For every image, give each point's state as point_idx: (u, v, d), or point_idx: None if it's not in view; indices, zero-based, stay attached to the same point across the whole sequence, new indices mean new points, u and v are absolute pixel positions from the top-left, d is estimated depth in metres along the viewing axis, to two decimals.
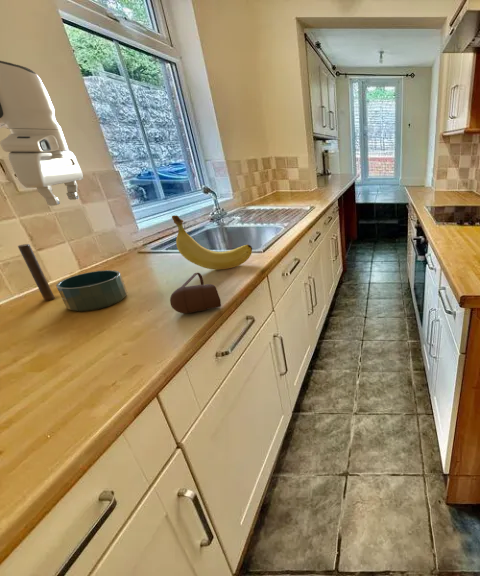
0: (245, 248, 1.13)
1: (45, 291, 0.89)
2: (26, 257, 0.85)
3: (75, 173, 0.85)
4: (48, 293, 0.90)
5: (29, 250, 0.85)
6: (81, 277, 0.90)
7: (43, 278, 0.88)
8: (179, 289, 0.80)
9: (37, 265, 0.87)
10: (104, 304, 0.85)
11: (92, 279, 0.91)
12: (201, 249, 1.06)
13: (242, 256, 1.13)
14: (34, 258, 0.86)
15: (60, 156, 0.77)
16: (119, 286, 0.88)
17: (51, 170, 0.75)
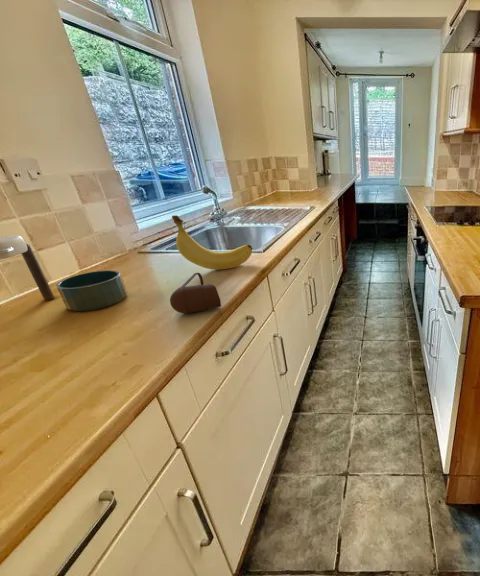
0: (245, 248, 1.13)
1: (45, 291, 0.89)
2: (26, 257, 0.85)
3: None
4: (48, 293, 0.90)
5: (29, 250, 0.85)
6: (81, 277, 0.90)
7: (43, 278, 0.88)
8: (179, 289, 0.80)
9: (37, 265, 0.87)
10: (104, 304, 0.85)
11: (92, 279, 0.91)
12: (201, 249, 1.06)
13: (242, 256, 1.13)
14: (34, 258, 0.86)
15: None
16: (119, 286, 0.88)
17: None
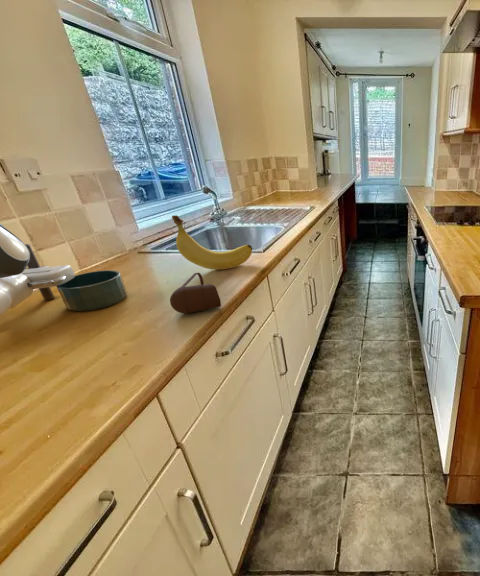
0: (245, 248, 1.13)
1: (45, 291, 0.89)
2: None
3: None
4: (48, 293, 0.90)
5: (29, 250, 0.85)
6: (81, 277, 0.90)
7: None
8: (179, 289, 0.80)
9: (37, 265, 0.87)
10: (104, 304, 0.85)
11: (92, 279, 0.91)
12: (201, 249, 1.06)
13: (242, 256, 1.13)
14: (34, 258, 0.86)
15: None
16: (119, 286, 0.88)
17: None
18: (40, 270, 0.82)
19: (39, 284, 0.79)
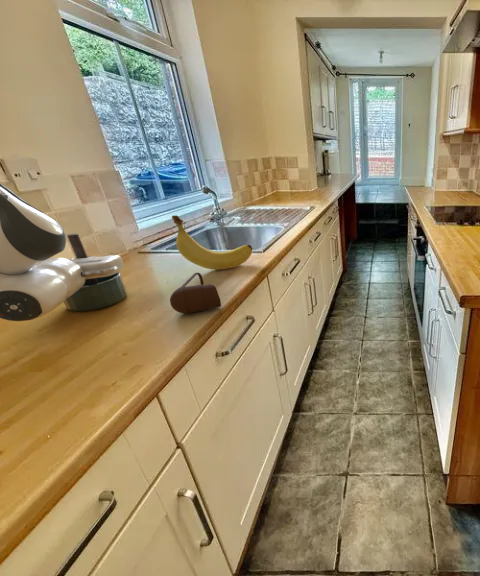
0: (245, 248, 1.13)
1: (92, 282, 0.86)
2: (75, 247, 0.82)
3: None
4: None
5: (78, 239, 0.82)
6: None
7: None
8: (179, 289, 0.80)
9: (85, 255, 0.84)
10: (104, 304, 0.85)
11: None
12: (201, 249, 1.06)
13: (242, 256, 1.13)
14: (82, 248, 0.83)
15: None
16: (119, 286, 0.88)
17: None
18: (91, 260, 0.79)
19: (92, 274, 0.75)
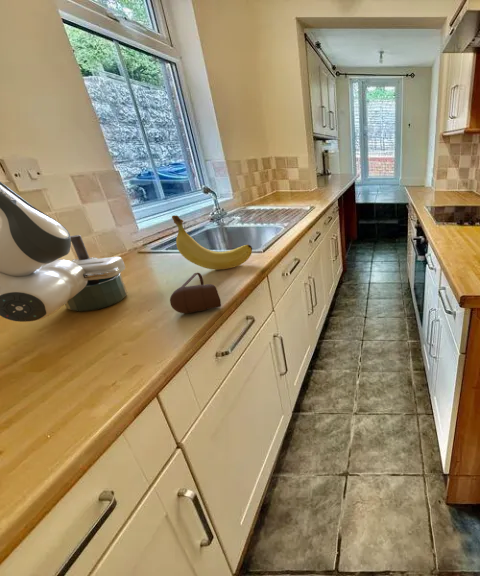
0: (245, 248, 1.13)
1: (94, 283, 0.88)
2: (77, 248, 0.84)
3: None
4: None
5: (80, 241, 0.84)
6: None
7: None
8: (179, 289, 0.80)
9: (87, 256, 0.86)
10: (104, 304, 0.85)
11: None
12: (201, 249, 1.06)
13: (242, 256, 1.13)
14: (84, 249, 0.85)
15: None
16: (119, 286, 0.88)
17: None
18: (93, 261, 0.81)
19: (94, 275, 0.77)
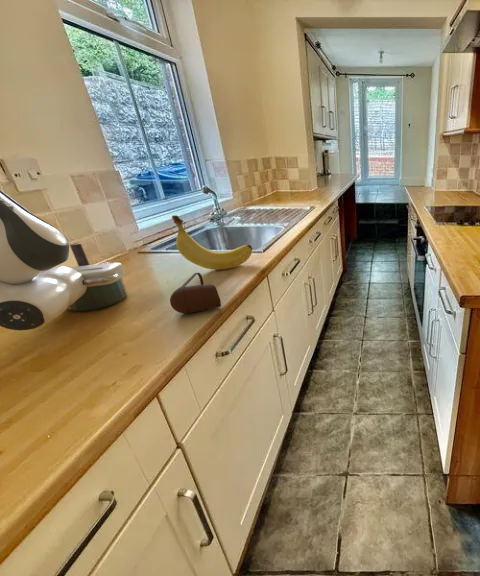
0: (245, 248, 1.13)
1: None
2: (77, 256, 0.83)
3: None
4: None
5: (81, 249, 0.83)
6: None
7: None
8: (179, 289, 0.80)
9: (88, 264, 0.85)
10: (104, 304, 0.85)
11: None
12: (201, 249, 1.06)
13: (242, 256, 1.13)
14: (85, 257, 0.84)
15: None
16: (119, 286, 0.88)
17: None
18: (92, 267, 0.80)
19: (94, 282, 0.76)
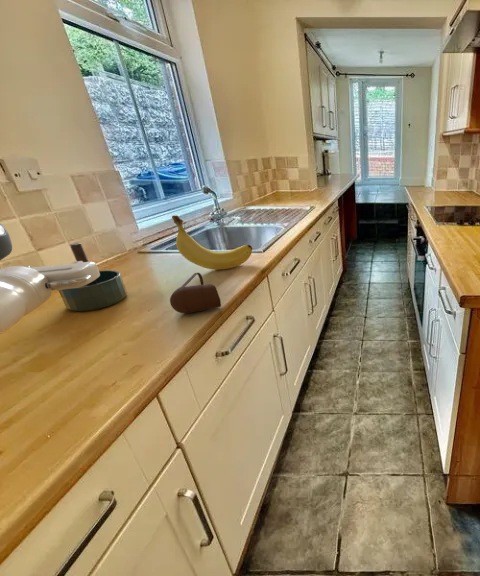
0: (245, 248, 1.13)
1: None
2: (77, 256, 0.83)
3: None
4: None
5: (81, 249, 0.83)
6: None
7: None
8: (179, 289, 0.80)
9: None
10: (104, 304, 0.85)
11: None
12: (201, 249, 1.06)
13: (242, 256, 1.13)
14: (85, 257, 0.84)
15: None
16: (119, 286, 0.88)
17: None
18: (59, 267, 0.68)
19: (59, 285, 0.64)
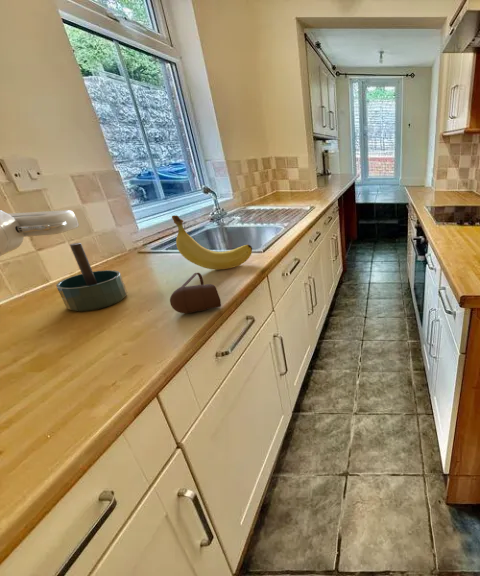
0: (245, 248, 1.13)
1: None
2: (77, 256, 0.83)
3: None
4: None
5: (81, 249, 0.83)
6: (81, 277, 0.90)
7: (93, 278, 0.86)
8: (179, 289, 0.80)
9: (88, 264, 0.85)
10: (104, 304, 0.85)
11: None
12: (201, 249, 1.06)
13: (242, 256, 1.13)
14: (85, 257, 0.84)
15: None
16: (119, 286, 0.88)
17: None
18: (33, 214, 0.62)
19: (31, 229, 0.59)
